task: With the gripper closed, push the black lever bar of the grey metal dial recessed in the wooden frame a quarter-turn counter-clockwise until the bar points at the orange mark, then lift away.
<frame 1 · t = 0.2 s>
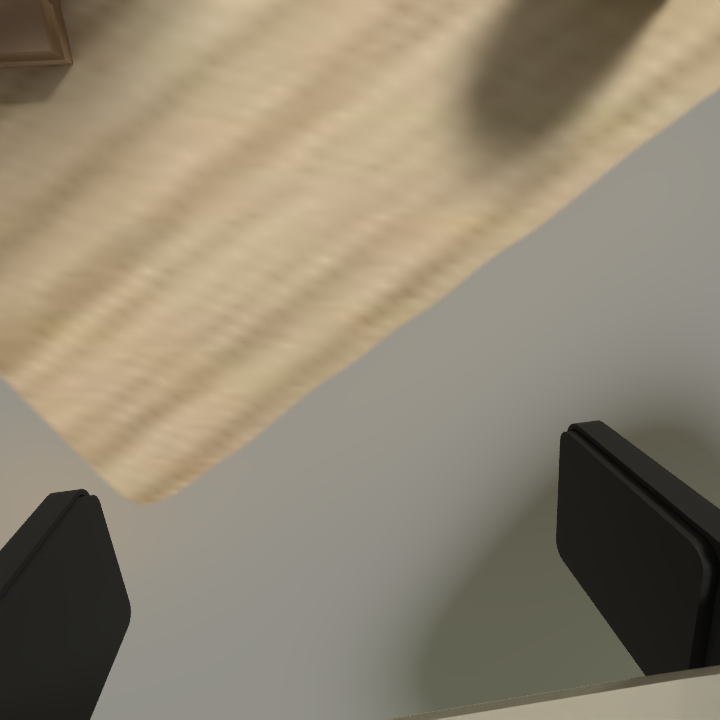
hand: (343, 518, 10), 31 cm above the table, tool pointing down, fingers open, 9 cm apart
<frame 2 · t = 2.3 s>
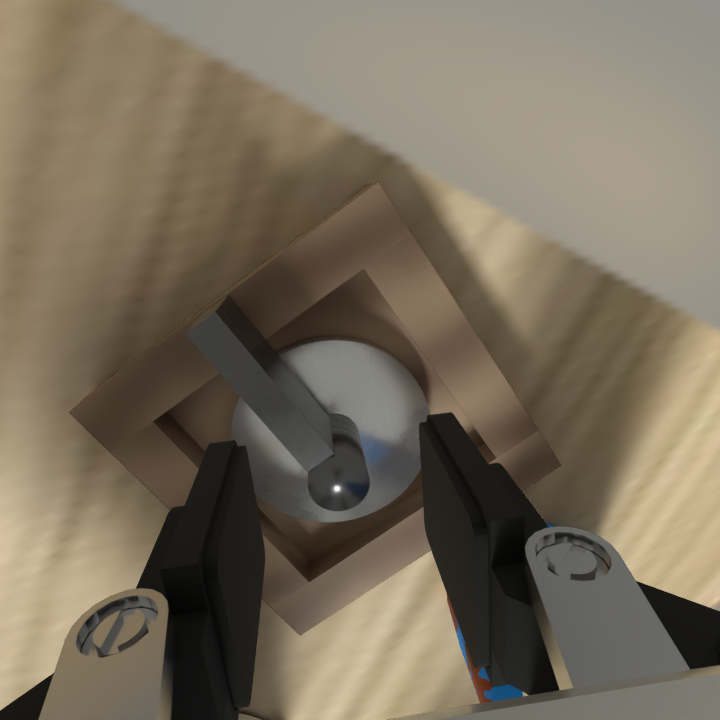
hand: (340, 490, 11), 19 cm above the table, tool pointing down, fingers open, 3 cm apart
thermos: (513, 577, 37), on the table
wooden frame: (330, 417, 31), on the table
dial: (311, 425, 26), point 5 cm above the table, hinge at 0.0°
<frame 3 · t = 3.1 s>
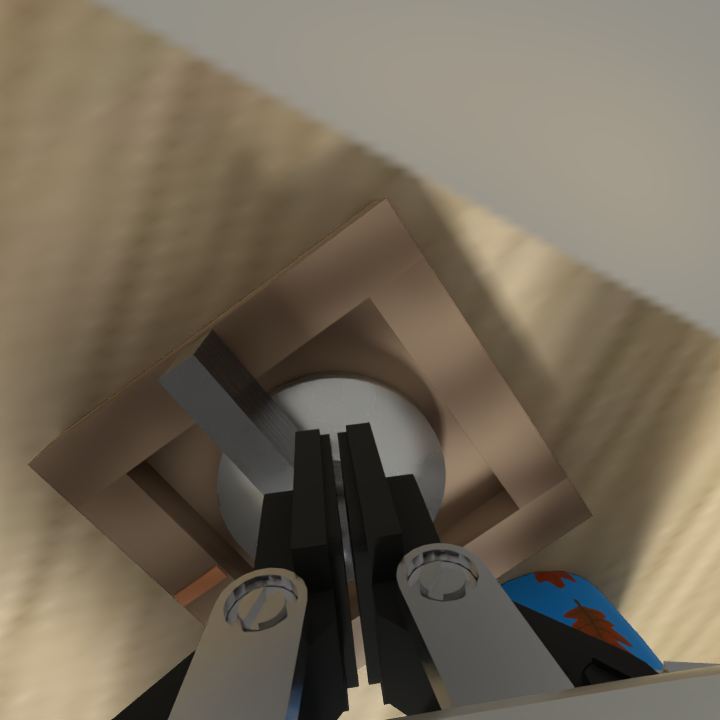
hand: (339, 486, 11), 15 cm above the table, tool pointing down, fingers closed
thermos: (534, 633, 33), on the table
wooden frame: (331, 461, 28), on the table
dial: (309, 478, 23), point 5 cm above the table, hinge at 0.0°
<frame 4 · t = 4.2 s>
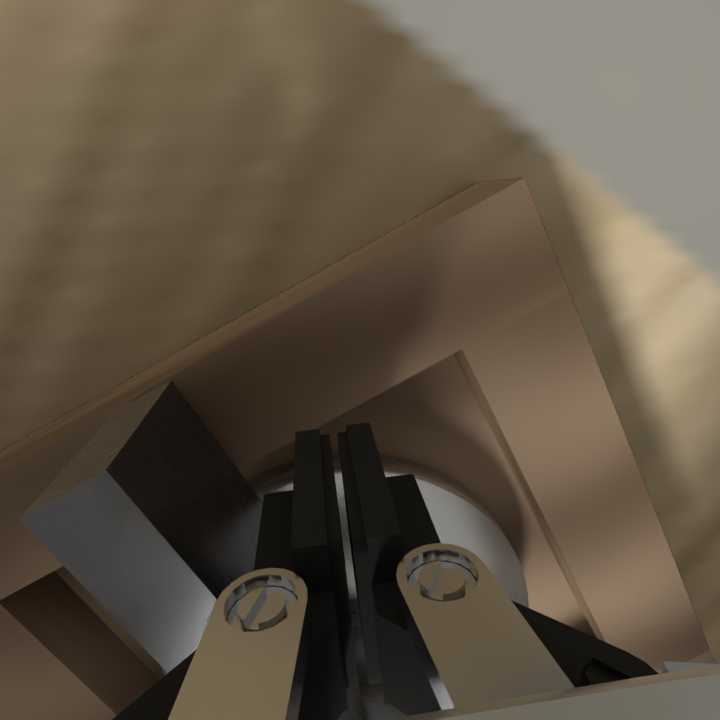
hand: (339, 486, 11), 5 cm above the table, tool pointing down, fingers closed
wooden frame: (343, 575, 18), on the table
dial: (317, 647, 13), point 5 cm above the table, hinge at 0.6°, touching gripper
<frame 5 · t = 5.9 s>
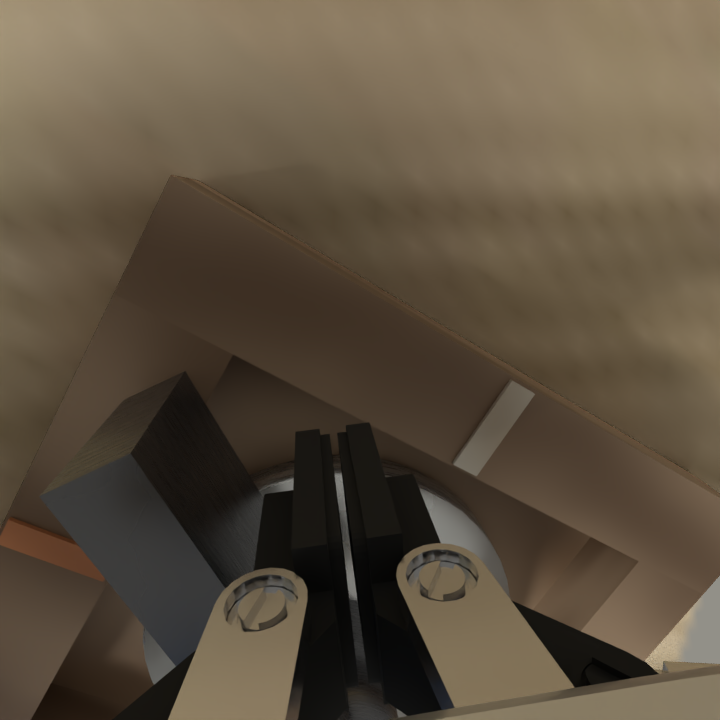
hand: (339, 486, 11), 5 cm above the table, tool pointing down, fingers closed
wooden frame: (329, 576, 18), on the table
dial: (305, 644, 13), point 5 cm above the table, hinge at 55.6°, touching gripper
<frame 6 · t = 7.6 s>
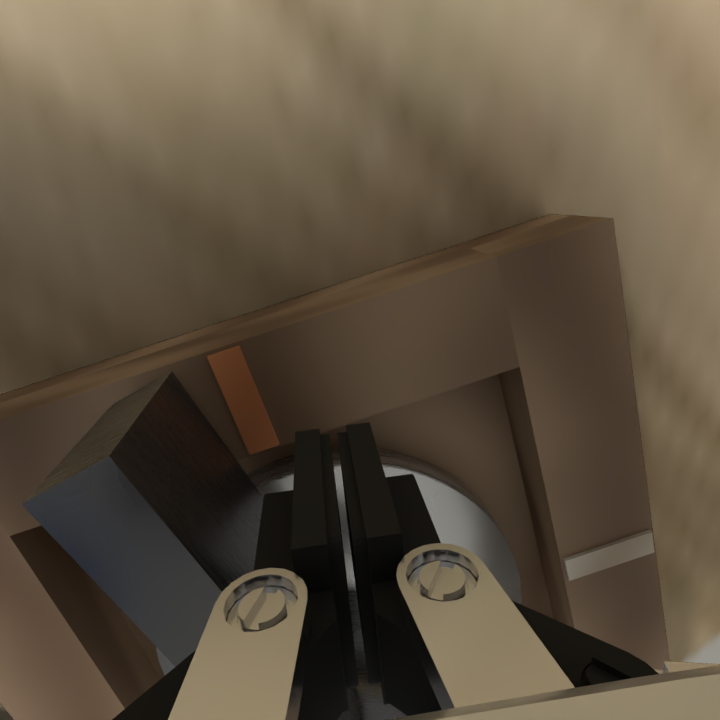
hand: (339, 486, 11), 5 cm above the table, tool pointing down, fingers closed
wooden frame: (339, 568, 18), on the table
dial: (314, 637, 13), point 5 cm above the table, hinge at 101.1°, touching gripper
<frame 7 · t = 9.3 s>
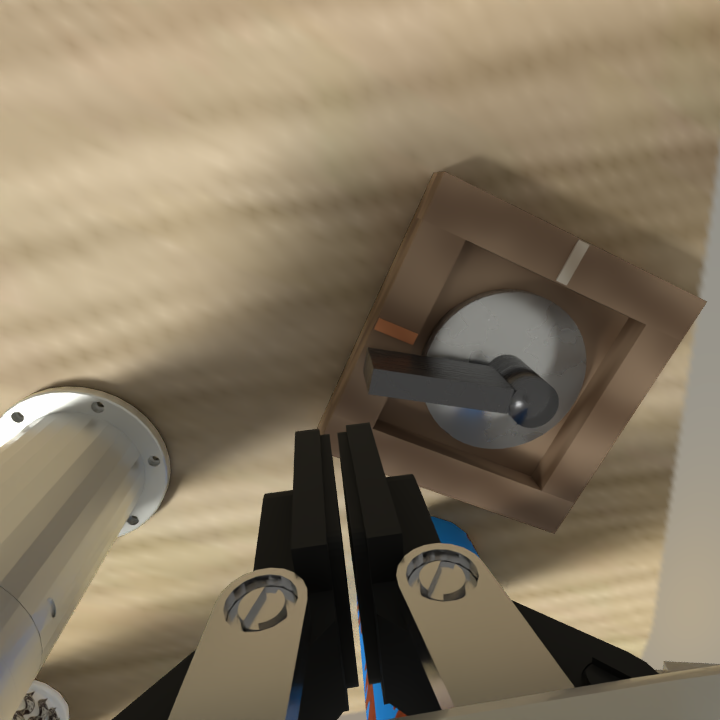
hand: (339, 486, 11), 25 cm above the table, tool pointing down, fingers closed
thermos: (416, 565, 43), on the table
wooden frame: (492, 362, 37), on the table
dial: (484, 380, 33), point 5 cm above the table, hinge at 103.5°
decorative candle: (21, 708, 45), on the table
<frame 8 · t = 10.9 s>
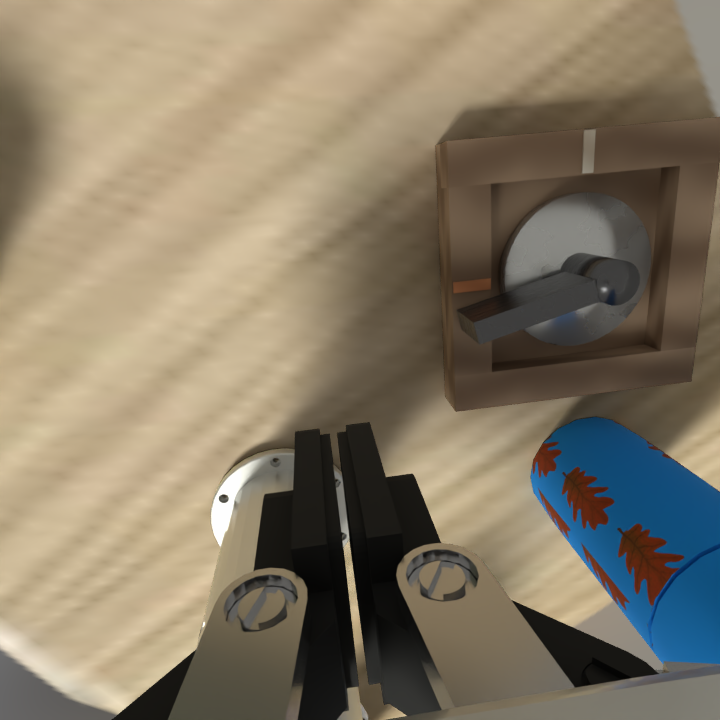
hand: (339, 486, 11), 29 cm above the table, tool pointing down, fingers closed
thermos: (583, 466, 47), on the table
wooden frame: (561, 268, 41), on the table
dial: (565, 286, 36), point 5 cm above the table, hinge at 103.5°
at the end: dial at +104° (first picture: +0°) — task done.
